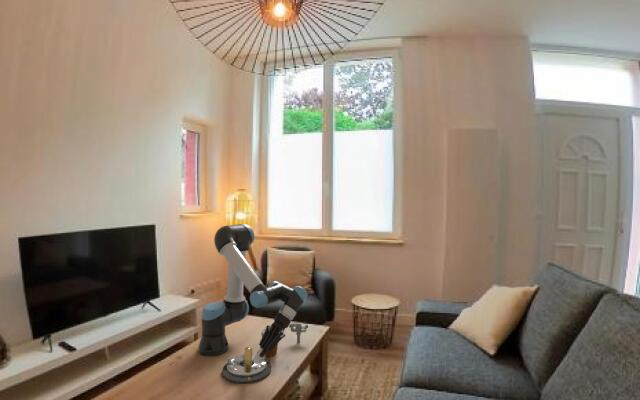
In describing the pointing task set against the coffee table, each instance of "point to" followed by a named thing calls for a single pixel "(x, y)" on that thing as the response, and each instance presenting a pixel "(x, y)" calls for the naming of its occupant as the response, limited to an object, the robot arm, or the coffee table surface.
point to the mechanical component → (298, 330)
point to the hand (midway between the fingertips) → (254, 362)
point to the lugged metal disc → (246, 365)
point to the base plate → (246, 379)
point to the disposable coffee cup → (273, 351)
